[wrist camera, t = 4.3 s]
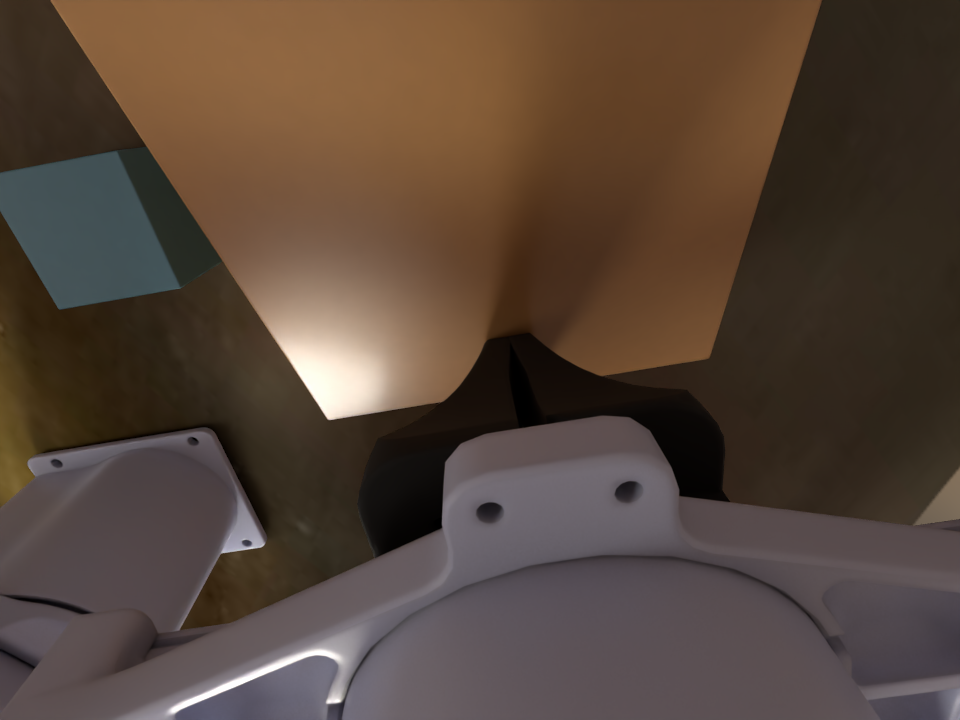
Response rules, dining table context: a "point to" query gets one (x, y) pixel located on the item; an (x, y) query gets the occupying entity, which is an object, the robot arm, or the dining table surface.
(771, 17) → the box lid
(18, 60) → the dining table surface
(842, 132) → the dining table surface
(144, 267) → the block
